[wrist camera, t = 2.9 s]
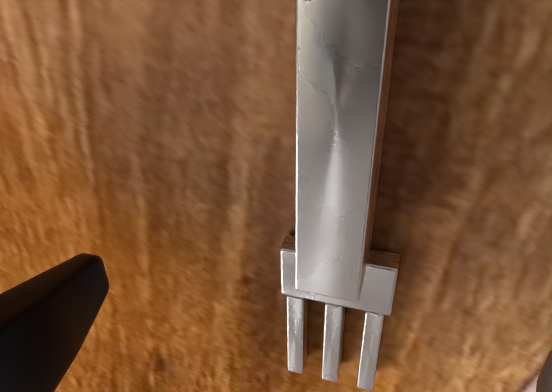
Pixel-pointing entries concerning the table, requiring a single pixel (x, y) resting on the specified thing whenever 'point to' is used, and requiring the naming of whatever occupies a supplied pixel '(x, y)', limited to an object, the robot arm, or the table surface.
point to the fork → (339, 178)
